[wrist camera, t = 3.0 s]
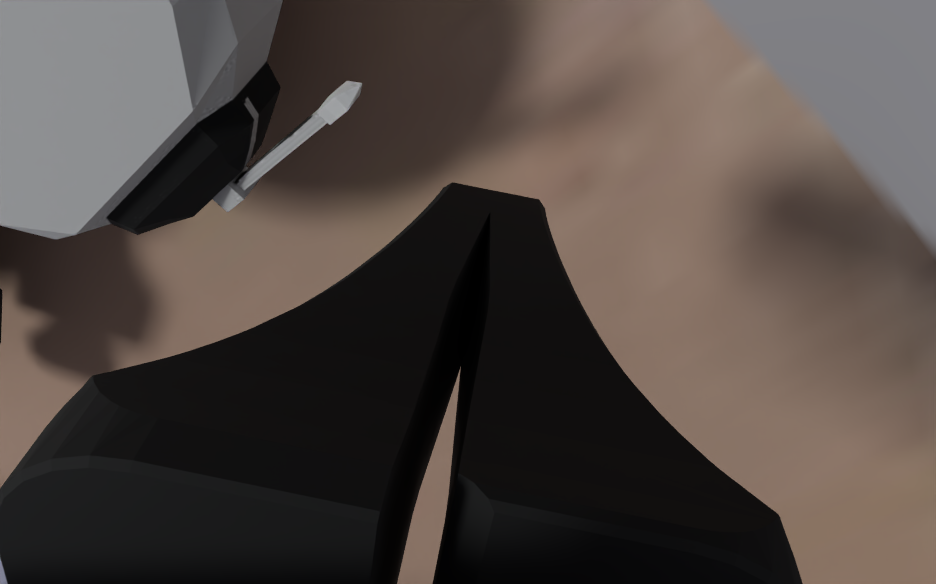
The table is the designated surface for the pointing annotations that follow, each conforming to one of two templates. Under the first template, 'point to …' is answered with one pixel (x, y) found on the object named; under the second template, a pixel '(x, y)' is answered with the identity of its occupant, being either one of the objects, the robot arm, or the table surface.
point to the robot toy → (136, 110)
